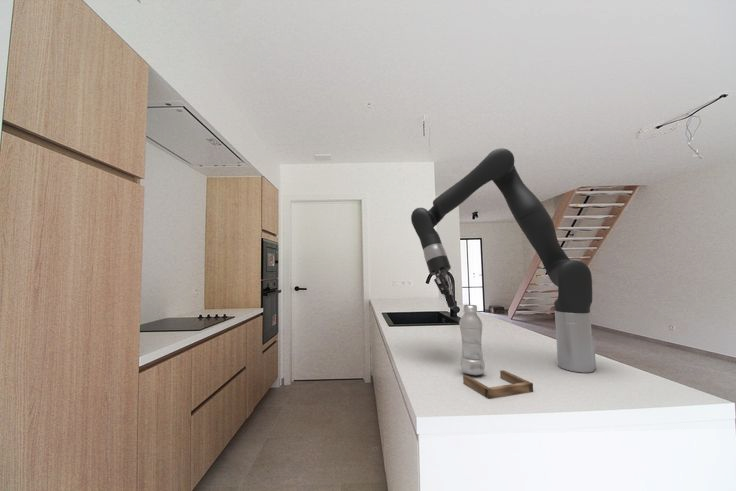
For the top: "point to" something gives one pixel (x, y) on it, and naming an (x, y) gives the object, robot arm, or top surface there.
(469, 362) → the plastic bottle
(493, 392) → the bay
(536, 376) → the top surface
